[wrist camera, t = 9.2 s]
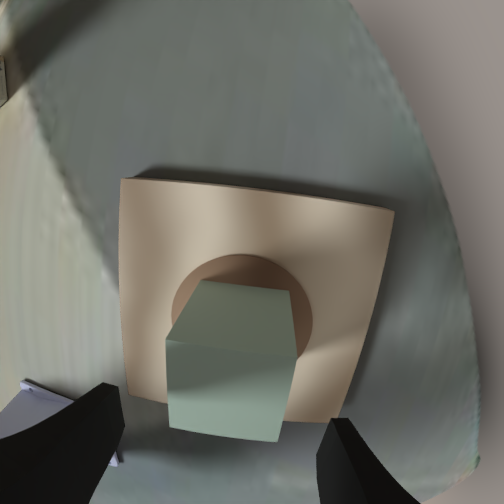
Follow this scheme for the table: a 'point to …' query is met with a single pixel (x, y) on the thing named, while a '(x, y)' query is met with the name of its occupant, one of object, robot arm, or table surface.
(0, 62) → the skincare box
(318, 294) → the display base
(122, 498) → the table surface
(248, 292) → the green block
